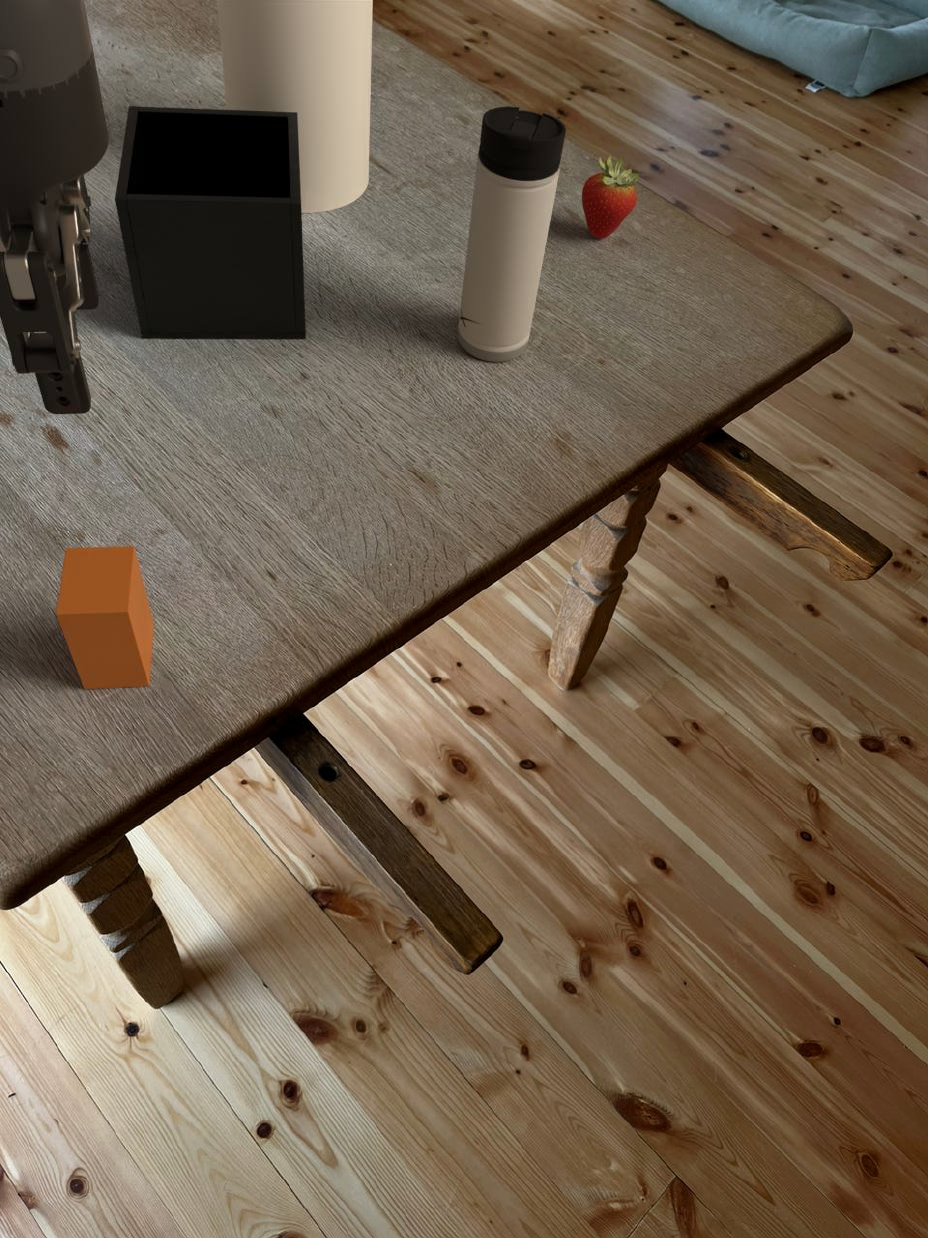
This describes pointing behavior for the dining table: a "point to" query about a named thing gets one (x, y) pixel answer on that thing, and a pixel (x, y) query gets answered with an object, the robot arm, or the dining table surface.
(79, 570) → the block
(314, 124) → the canister
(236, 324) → the bin
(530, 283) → the travel mug
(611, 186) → the fruit
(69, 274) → the robot arm
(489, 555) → the dining table surface
